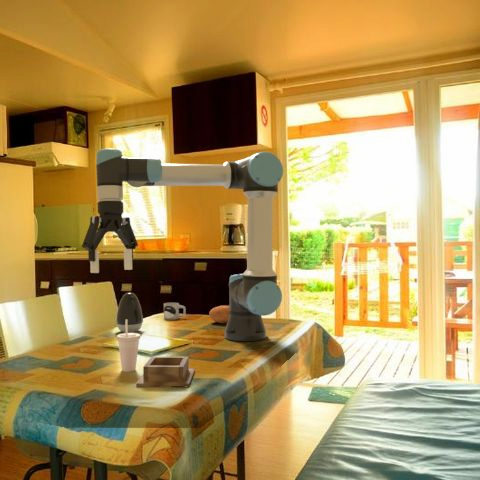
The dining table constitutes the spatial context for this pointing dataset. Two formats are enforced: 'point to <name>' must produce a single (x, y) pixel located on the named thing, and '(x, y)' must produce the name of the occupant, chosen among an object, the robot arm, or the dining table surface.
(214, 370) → the dining table surface
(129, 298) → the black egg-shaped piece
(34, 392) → the dining table surface
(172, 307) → the mug
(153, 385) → the box
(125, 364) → the smoothie
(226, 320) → the potato
